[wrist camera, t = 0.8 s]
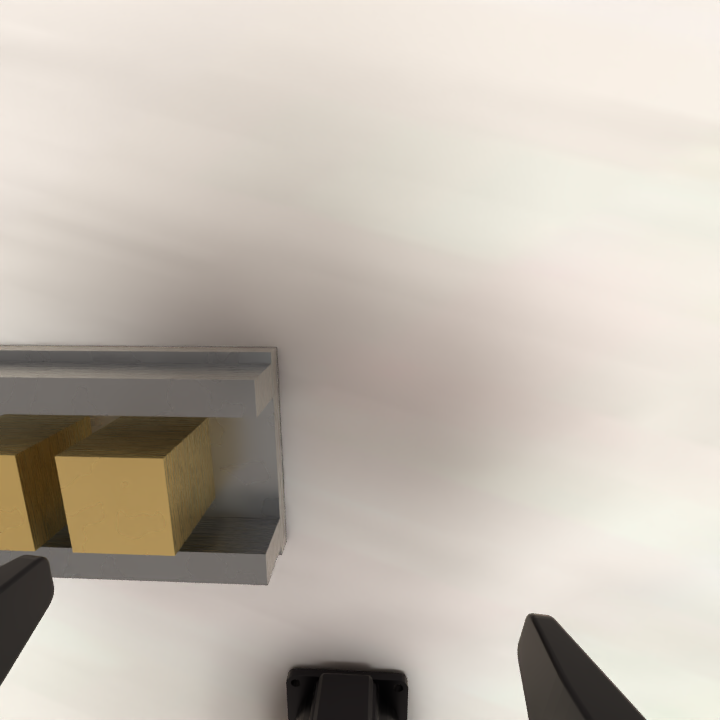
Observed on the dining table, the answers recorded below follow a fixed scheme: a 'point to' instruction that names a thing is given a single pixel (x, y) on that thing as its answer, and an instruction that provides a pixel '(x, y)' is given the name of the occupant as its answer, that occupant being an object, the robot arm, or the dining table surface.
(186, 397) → the slot rail
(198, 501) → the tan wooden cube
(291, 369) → the dining table surface
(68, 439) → the tan cube
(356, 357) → the dining table surface
